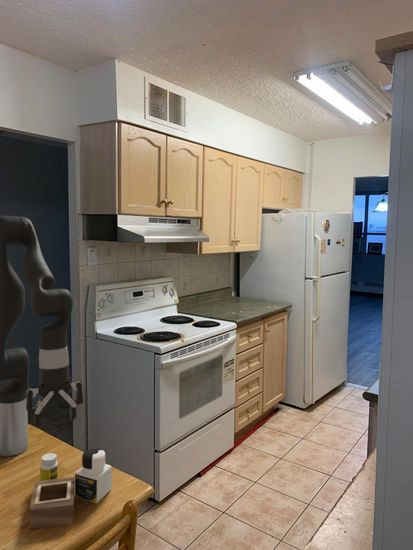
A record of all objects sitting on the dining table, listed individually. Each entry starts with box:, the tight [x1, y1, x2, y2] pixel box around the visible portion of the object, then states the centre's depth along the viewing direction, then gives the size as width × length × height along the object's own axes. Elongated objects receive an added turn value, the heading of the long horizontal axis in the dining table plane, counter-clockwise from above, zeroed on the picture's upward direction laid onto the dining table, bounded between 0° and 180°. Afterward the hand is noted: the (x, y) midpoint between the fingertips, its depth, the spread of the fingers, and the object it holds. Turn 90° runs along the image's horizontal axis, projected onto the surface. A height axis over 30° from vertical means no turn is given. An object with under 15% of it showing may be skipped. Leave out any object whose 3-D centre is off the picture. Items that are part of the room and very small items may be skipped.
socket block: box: [29, 476, 76, 531], centre depth 109 cm, size 12×10×5 cm
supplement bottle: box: [39, 452, 59, 481], centre depth 120 cm, size 5×5×8 cm
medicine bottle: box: [74, 447, 113, 504], centre depth 117 cm, size 7×7×12 cm
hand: (55, 423), depth 115 cm, fingers open, 8 cm apart
